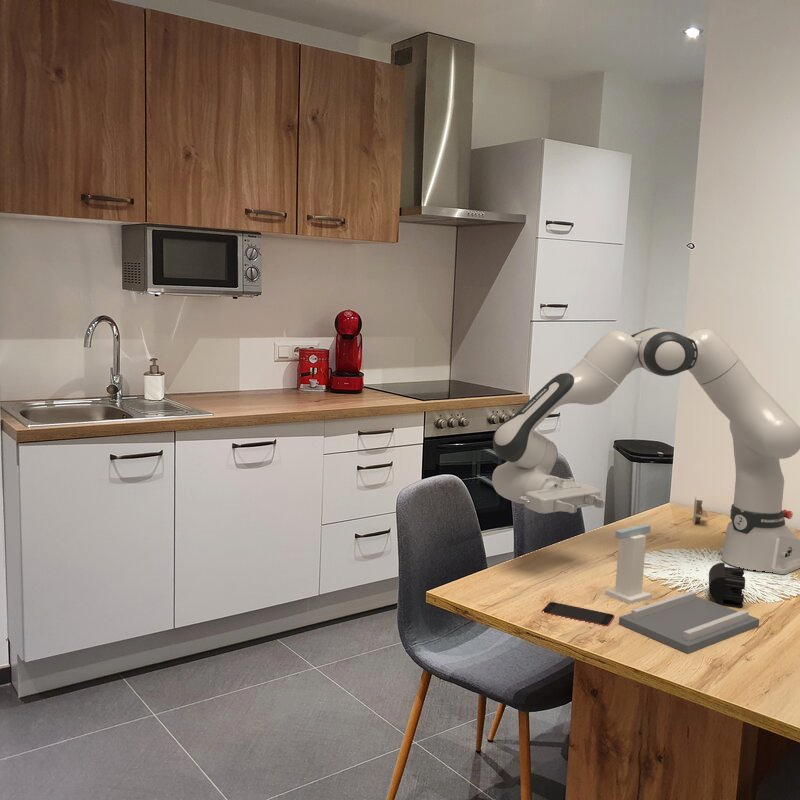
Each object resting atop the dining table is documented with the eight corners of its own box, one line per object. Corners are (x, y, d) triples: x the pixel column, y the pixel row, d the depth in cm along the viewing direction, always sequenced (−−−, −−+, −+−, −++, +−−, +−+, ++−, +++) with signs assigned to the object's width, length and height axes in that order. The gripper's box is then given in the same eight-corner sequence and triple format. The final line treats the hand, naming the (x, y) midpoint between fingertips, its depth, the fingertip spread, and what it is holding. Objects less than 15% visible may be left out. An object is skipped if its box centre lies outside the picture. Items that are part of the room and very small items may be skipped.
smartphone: (550, 600, 178) (615, 614, 172) (549, 603, 178) (615, 617, 172) (540, 611, 172) (608, 626, 166) (540, 614, 172) (607, 628, 166)
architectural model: (705, 522, 246) (707, 498, 245) (706, 529, 239) (709, 504, 238) (692, 521, 247) (695, 497, 246) (694, 527, 240) (696, 502, 239)
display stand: (600, 595, 183) (605, 527, 181) (629, 587, 189) (634, 521, 187) (626, 606, 177) (631, 536, 175) (655, 597, 183) (661, 529, 181)
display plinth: (690, 600, 182) (691, 587, 181) (758, 626, 169) (760, 612, 169) (618, 624, 168) (619, 609, 167) (687, 653, 155) (688, 638, 154)
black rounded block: (707, 589, 189) (709, 560, 189) (740, 594, 187) (743, 565, 186) (707, 604, 180) (710, 574, 179) (742, 609, 178) (745, 579, 177)
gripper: (514, 484, 195) (558, 498, 184) (574, 476, 207) (619, 488, 196) (512, 510, 195) (556, 526, 184) (572, 501, 208) (616, 514, 197)
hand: (589, 506), depth 190 cm, fingers open, 8 cm apart
